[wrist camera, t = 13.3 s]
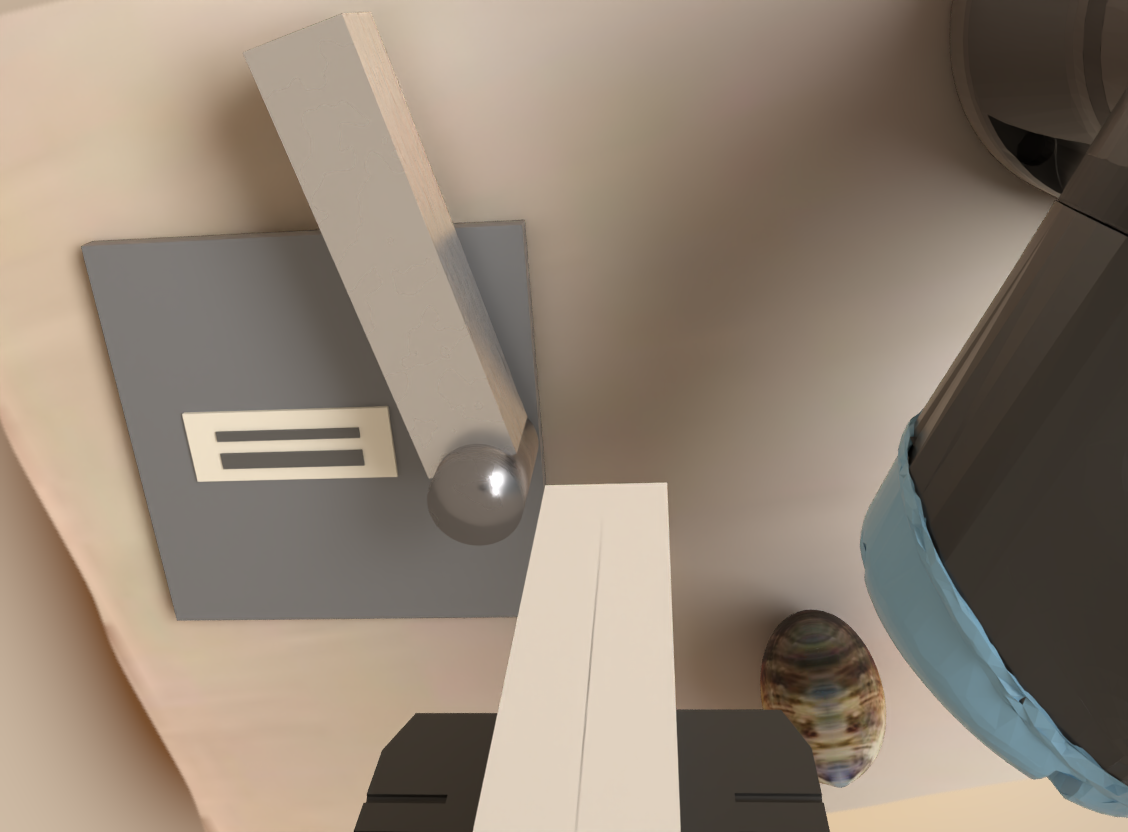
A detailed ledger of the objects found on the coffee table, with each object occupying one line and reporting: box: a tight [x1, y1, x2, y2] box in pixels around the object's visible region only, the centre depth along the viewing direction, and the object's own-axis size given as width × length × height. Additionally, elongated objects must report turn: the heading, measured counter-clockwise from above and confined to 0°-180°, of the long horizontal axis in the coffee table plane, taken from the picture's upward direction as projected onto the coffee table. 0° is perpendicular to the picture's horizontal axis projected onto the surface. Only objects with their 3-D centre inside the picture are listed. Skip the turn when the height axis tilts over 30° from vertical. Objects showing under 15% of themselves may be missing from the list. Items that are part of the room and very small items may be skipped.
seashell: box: [760, 610, 886, 788], centre depth 48 cm, size 10×6×8 cm, turn 13°
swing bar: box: [243, 11, 538, 546], centre depth 41 cm, size 21×4×6 cm, turn 19°
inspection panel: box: [81, 220, 546, 620], centre depth 48 cm, size 20×20×1 cm
